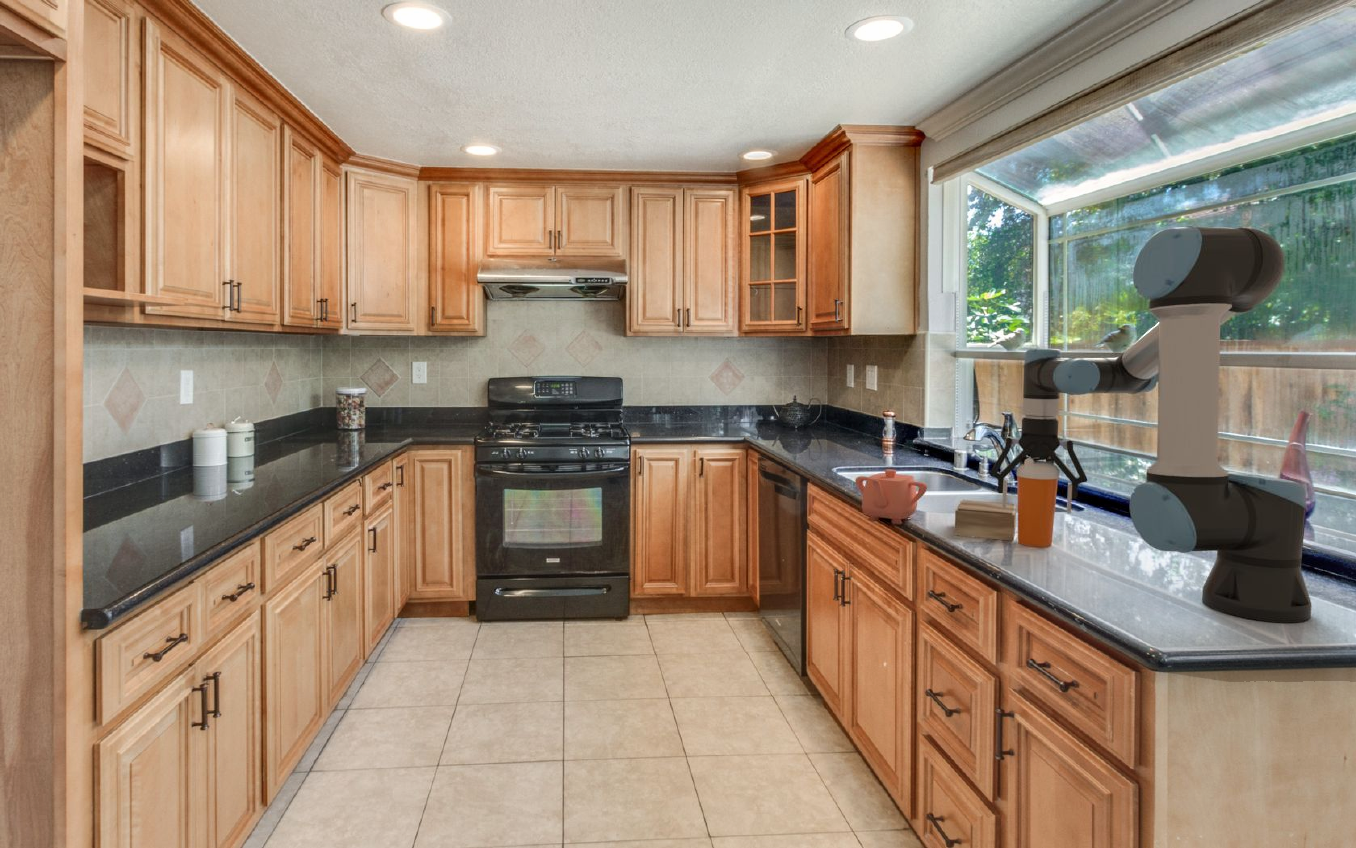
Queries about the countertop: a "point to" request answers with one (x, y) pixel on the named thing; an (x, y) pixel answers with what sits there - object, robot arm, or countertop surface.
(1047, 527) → the shaker bottle
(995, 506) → the block
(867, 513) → the teapot
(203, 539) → the countertop surface
